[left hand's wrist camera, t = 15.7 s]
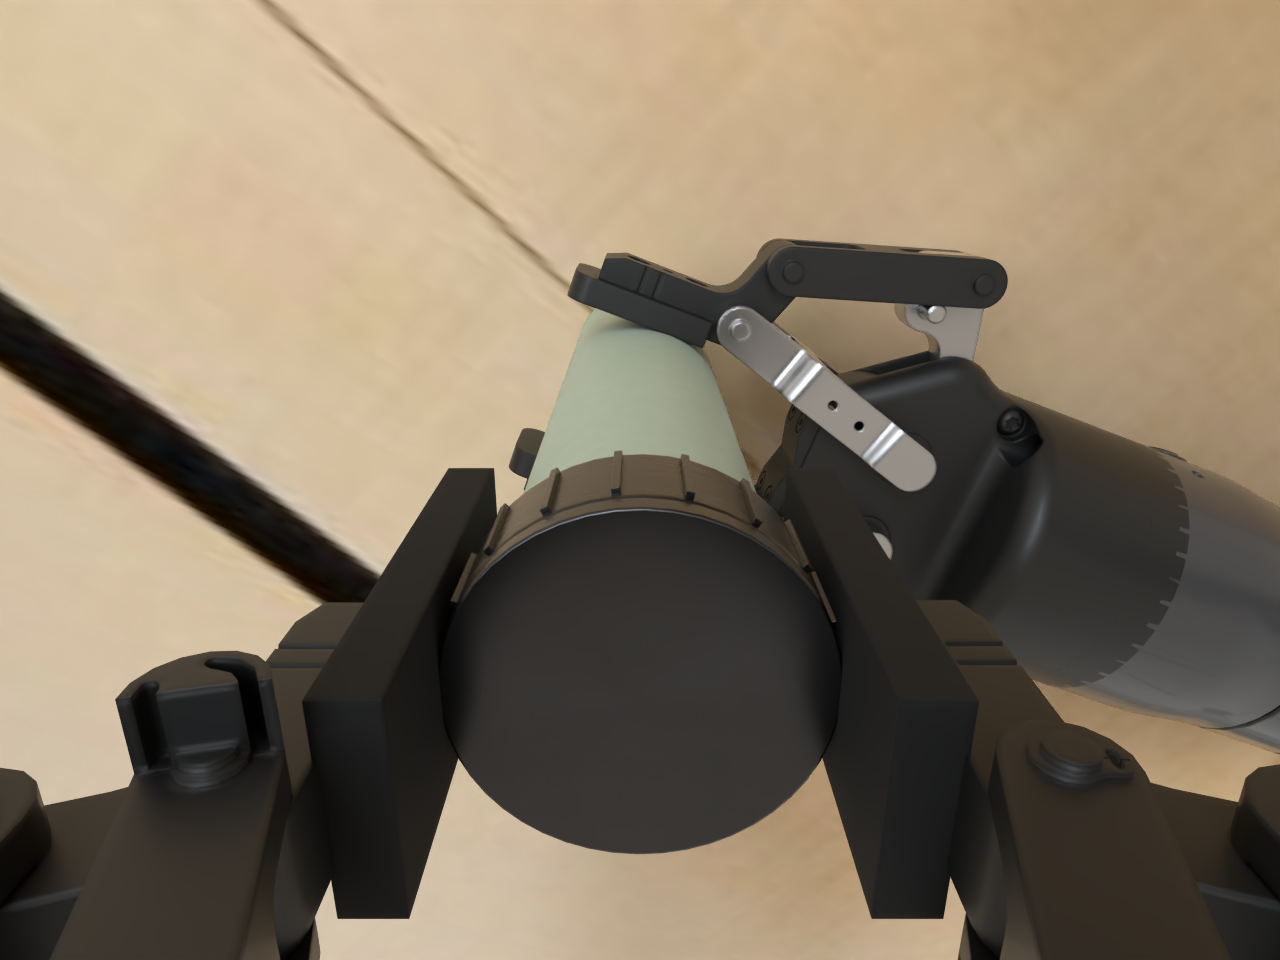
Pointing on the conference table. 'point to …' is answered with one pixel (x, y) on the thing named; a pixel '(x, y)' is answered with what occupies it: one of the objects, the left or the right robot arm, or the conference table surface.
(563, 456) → the pale green bottle
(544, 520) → the lid
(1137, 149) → the conference table surface
